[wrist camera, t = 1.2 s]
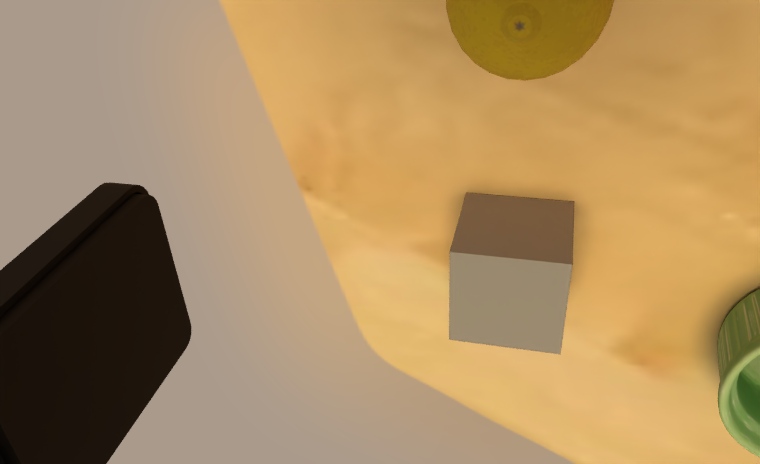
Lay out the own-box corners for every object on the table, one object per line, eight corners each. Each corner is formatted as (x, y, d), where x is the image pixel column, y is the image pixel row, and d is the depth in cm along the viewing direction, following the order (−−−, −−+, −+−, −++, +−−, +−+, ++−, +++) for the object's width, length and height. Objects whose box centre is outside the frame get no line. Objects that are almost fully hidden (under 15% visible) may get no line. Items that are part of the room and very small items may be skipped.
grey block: (466, 192, 32) (449, 251, 28) (574, 200, 31) (572, 264, 27) (464, 274, 35) (449, 339, 31) (563, 285, 34) (560, 354, 30)
